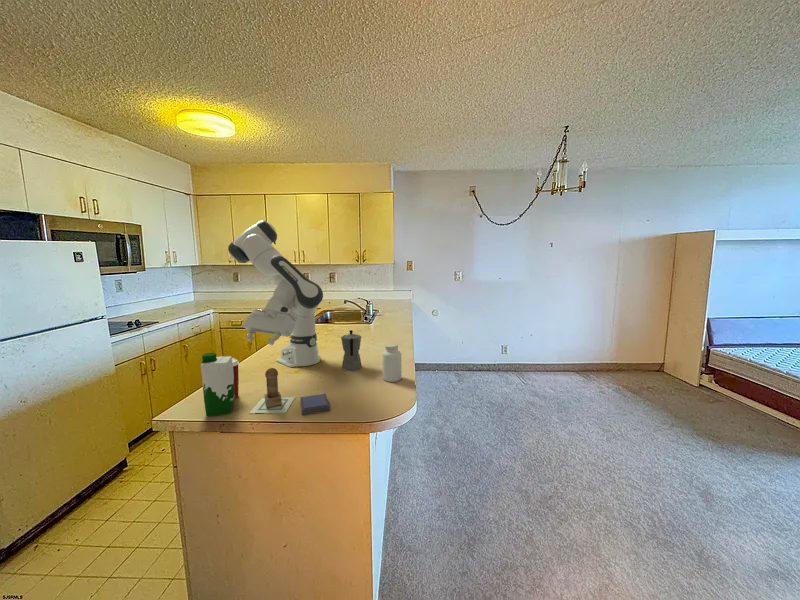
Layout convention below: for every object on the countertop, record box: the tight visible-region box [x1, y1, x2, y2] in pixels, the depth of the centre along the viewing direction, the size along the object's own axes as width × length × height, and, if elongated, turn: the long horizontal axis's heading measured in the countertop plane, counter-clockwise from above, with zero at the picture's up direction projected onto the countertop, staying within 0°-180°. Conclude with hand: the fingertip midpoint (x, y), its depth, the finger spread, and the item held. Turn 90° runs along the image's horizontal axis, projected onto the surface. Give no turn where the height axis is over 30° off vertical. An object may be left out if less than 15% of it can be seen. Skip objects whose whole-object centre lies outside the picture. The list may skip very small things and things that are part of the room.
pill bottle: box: [382, 343, 402, 383], centre depth 140 cm, size 8×8×15 cm
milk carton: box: [200, 352, 236, 417], centre depth 111 cm, size 9×9×20 cm
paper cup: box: [232, 357, 240, 399], centre depth 122 cm, size 8×8×14 cm
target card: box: [249, 396, 296, 415], centre depth 116 cm, size 12×12×1 cm
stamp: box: [264, 367, 282, 409], centre depth 115 cm, size 5×5×13 cm
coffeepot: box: [340, 329, 362, 371], centre depth 154 cm, size 15×9×18 cm, turn 9°
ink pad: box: [299, 393, 331, 416], centre depth 115 cm, size 11×9×2 cm
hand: (259, 342), depth 122 cm, fingers open, 8 cm apart
